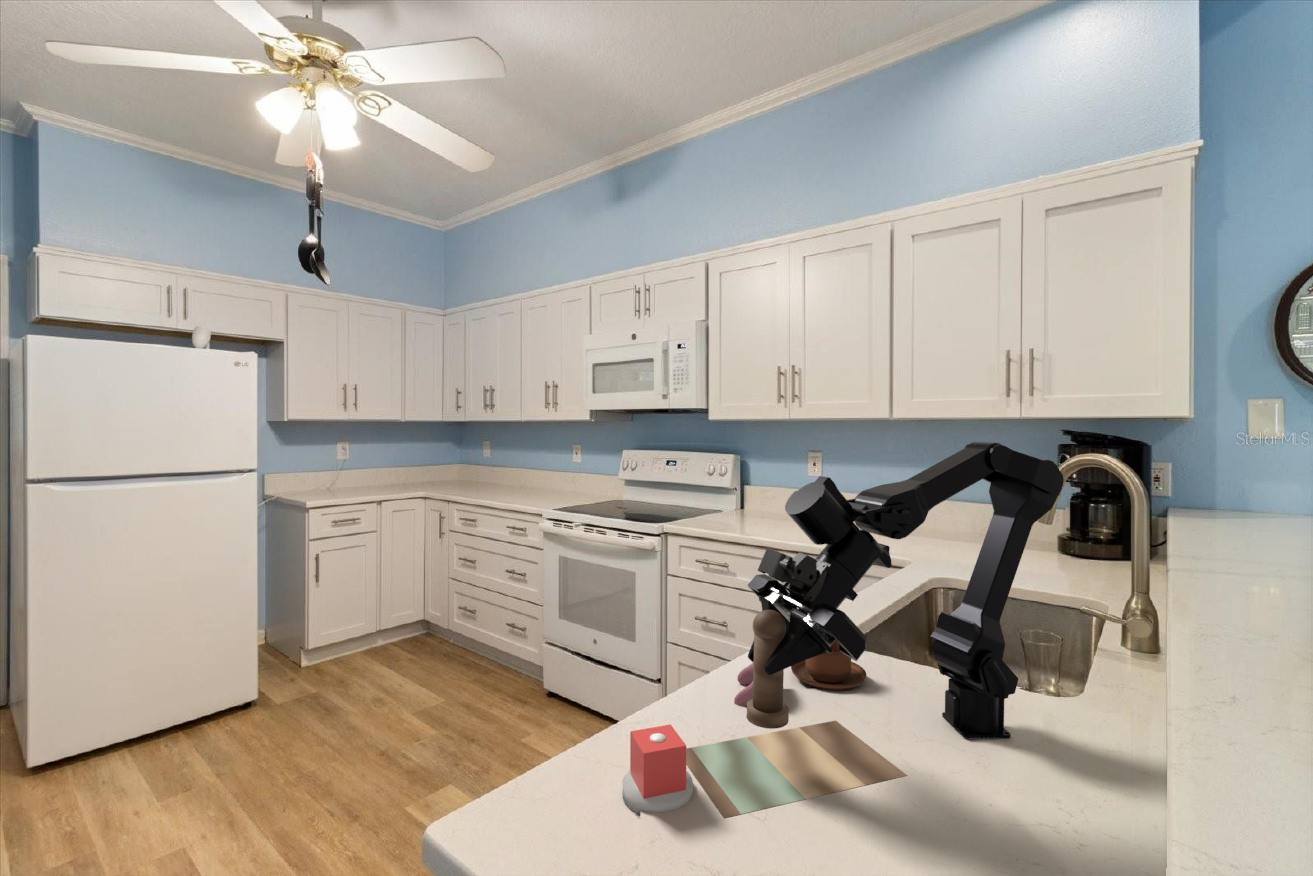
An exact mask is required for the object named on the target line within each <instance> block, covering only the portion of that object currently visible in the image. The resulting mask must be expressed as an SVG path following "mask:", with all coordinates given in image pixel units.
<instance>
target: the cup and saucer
mask: <svg viewBox="0 0 1313 876" xmlns="http://www.w3.org/2000/svg"><path fill="white" fill-rule="evenodd" d="M830 648H831V649H832V650H833V652H832V653H831V654H829V653H824V654H821V655H818V656H815V657H812V658H810V659H807V660H804V661H802V662H799V663H797V664H795V665H792V666H790V669H791V672H792V674H793V675H794V676H795V677H796V678H797V679H798V680H799V681H801V682H803V683H804V684H806V685H808V686H811V687H814V688H817V689H821V690H829V691H844V690H852V689H854V688H856V687H859V686H860V685H862V684H863V683H865V680H866V678H867V672H866V670H865V669H864V668H863V667H862V666H861V665H859V664H857V663H856V662H854V661H852V659H851V658H850V657H848V656H846V655H845V654H843V653H842V652H841V651H840V650H839V643H838V642H837V641H836V640H835V641H834V642H833V643H832V645H831V646H830Z"/></svg>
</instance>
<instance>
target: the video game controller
mask: <svg viewBox="0 0 1313 876" xmlns="http://www.w3.org/2000/svg"><path fill="white" fill-rule="evenodd" d="M753 667H754V662H752V663H750V664H749V665H747V666H746V667H744V668H742V669H741V671H739V672H738V675H737V679H736V680H737V682H738V683H739V684H740V685H744V686H746V687H744V688H743V689H742V690H741V691H739V692H737V694H736V695H735V696H734V700H733V702H734V703H733V704H734V705H737V706H742V707H747V702H748V701H749V700H751V699H753Z"/></svg>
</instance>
